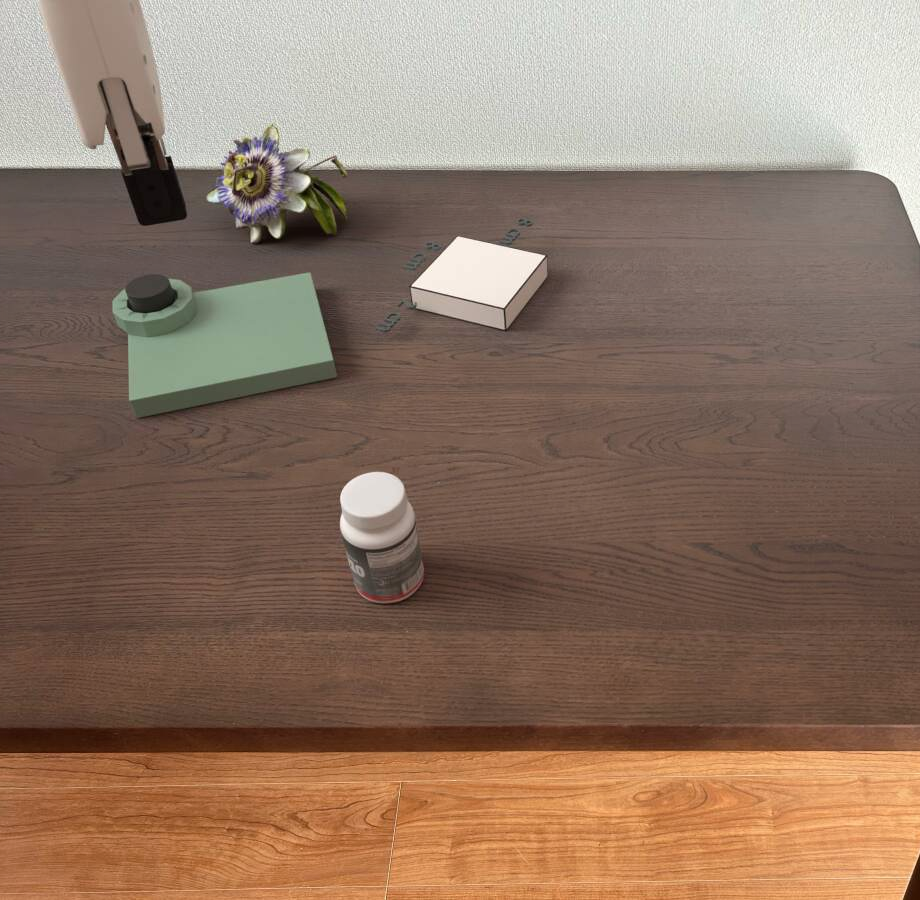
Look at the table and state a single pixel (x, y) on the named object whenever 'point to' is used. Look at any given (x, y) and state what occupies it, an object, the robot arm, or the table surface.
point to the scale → (224, 343)
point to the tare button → (150, 293)
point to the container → (476, 281)
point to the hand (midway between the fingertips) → (163, 216)
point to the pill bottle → (381, 538)
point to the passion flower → (273, 187)
